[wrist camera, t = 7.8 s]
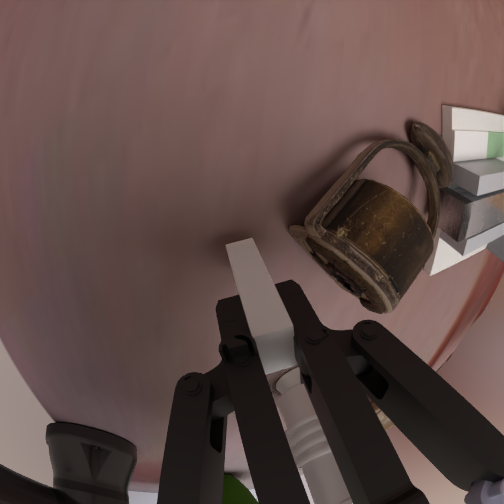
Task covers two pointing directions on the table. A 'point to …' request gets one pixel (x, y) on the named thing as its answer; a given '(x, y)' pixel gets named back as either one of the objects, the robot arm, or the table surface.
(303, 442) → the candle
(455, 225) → the grey metal bar
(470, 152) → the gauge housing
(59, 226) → the table surface
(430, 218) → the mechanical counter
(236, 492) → the vase
